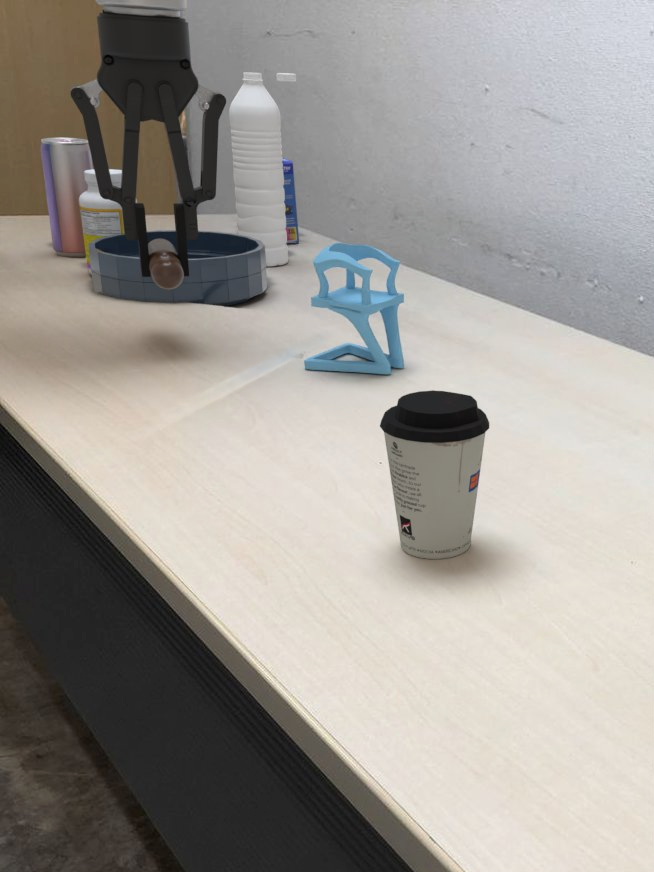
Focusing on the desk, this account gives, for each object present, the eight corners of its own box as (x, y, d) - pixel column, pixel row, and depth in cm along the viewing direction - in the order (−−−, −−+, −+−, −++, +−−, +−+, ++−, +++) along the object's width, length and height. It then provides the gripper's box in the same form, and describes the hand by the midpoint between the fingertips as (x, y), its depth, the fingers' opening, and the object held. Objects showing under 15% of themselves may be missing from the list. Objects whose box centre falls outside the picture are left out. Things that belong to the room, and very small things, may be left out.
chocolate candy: (149, 266, 114) (141, 238, 113) (178, 260, 115) (170, 233, 114) (156, 294, 103) (148, 265, 102) (188, 289, 104) (180, 259, 103)
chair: (376, 381, 108) (373, 257, 103) (302, 368, 110) (296, 246, 106) (416, 362, 115) (415, 245, 110) (346, 350, 117) (342, 235, 113)
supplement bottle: (123, 266, 148) (112, 166, 143) (156, 274, 145) (146, 172, 140) (76, 273, 142) (63, 169, 138) (109, 282, 139) (97, 175, 134)
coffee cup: (386, 570, 71) (383, 421, 67) (378, 525, 77) (375, 387, 73) (496, 563, 73) (498, 417, 69) (479, 520, 79) (481, 384, 75)
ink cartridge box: (239, 234, 174) (232, 137, 169) (274, 232, 177) (268, 137, 172) (265, 245, 167) (258, 144, 162) (300, 243, 170) (295, 144, 165)
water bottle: (238, 267, 152) (225, 71, 143) (239, 257, 158) (226, 69, 148) (305, 267, 154) (296, 75, 145) (304, 258, 160) (295, 72, 151)
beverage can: (43, 254, 151) (28, 139, 146) (74, 247, 157) (61, 136, 151) (82, 259, 150) (68, 143, 145) (111, 252, 156) (99, 140, 150)
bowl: (57, 301, 128) (50, 249, 126) (157, 271, 146) (152, 225, 144) (212, 319, 125) (208, 266, 123) (295, 286, 143) (292, 239, 141)
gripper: (41, 6, 94) (74, 284, 102) (240, 20, 100) (255, 280, 109) (44, 4, 100) (74, 266, 109) (231, 17, 106) (245, 264, 115)
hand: (165, 273), depth 109 cm, fingers closed on chocolate candy, 3 cm apart
